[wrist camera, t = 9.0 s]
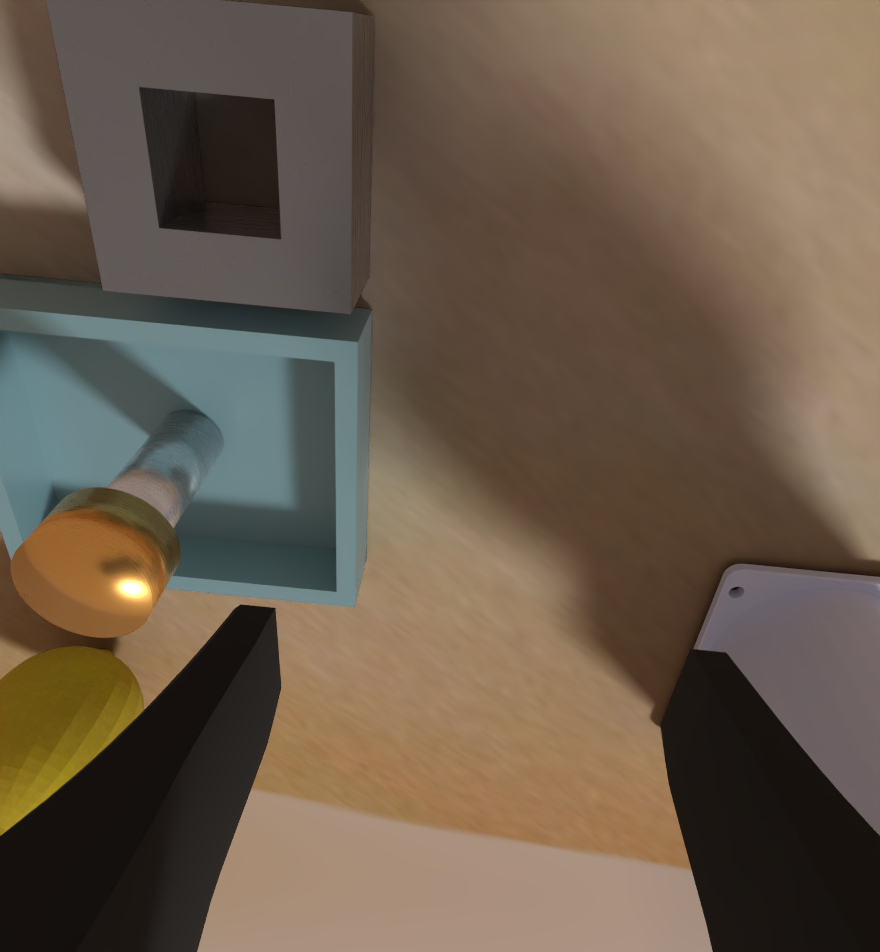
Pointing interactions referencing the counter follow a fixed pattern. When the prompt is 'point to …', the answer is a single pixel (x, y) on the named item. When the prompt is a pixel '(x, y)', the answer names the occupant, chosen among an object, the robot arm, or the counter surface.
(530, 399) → the counter surface
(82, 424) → the tray
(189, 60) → the dark disc and block
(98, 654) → the lemon
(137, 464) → the lock pin
